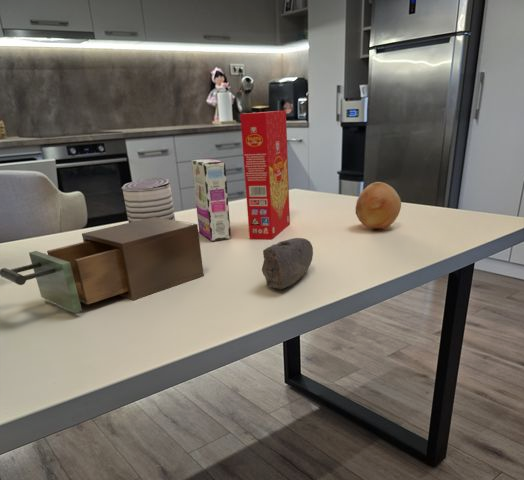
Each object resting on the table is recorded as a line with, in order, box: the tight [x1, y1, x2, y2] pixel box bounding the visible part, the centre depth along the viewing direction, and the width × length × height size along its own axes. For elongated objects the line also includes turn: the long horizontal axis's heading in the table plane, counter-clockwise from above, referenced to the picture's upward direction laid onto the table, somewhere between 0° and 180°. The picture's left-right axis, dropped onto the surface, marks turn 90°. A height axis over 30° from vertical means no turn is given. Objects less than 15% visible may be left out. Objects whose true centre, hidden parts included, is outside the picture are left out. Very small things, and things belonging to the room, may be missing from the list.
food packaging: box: [239, 110, 291, 240], centre depth 107 cm, size 15×5×25 cm, turn 162°
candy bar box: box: [190, 158, 232, 242], centre depth 108 cm, size 11×5×16 cm, turn 22°
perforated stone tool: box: [261, 237, 314, 290], centre depth 78 cm, size 15×5×7 cm, turn 149°
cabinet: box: [81, 217, 205, 301], centre depth 82 cm, size 15×13×9 cm
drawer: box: [0, 240, 129, 314], centre depth 74 cm, size 19×11×7 cm, turn 136°
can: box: [121, 177, 176, 223], centre depth 116 cm, size 11×11×12 cm
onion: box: [355, 181, 402, 229], centre depth 106 cm, size 10×10×10 cm
